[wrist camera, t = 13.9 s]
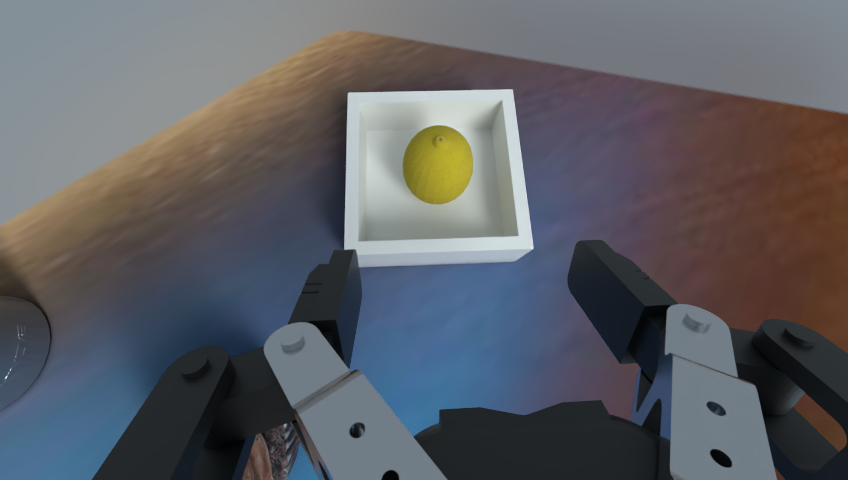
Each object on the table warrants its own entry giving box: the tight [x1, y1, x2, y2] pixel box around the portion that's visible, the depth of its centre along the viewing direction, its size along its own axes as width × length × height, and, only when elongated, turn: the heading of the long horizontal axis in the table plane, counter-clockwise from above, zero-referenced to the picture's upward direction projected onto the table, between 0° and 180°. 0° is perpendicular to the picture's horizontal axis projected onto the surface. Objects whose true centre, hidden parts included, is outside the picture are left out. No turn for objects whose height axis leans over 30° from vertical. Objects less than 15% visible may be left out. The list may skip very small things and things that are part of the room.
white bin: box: [344, 90, 534, 267], centre depth 28 cm, size 14×14×5 cm
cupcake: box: [242, 422, 300, 480], centre depth 20 cm, size 10×10×10 cm
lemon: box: [403, 125, 473, 204], centre depth 26 cm, size 6×6×8 cm
